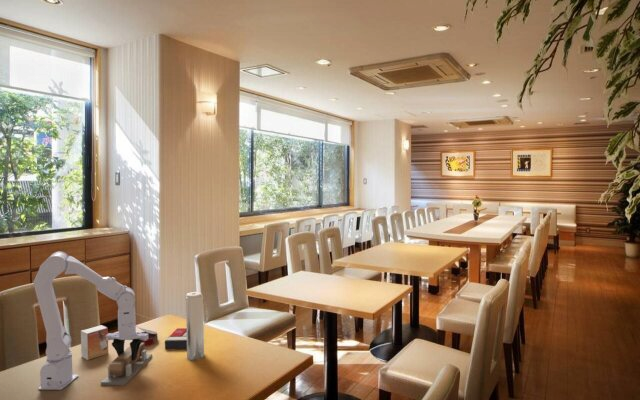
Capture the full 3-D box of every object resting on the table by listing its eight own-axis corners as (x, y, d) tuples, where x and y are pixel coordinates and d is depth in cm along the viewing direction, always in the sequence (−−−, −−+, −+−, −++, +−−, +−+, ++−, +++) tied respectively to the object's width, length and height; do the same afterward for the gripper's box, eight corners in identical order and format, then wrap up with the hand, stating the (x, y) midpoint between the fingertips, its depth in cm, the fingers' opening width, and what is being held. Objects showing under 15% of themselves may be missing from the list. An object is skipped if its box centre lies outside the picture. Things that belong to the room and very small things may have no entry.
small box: (87, 360, 157) (86, 333, 156) (81, 356, 160) (80, 330, 159) (108, 353, 163) (108, 327, 162) (102, 349, 166) (101, 324, 166)
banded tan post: (121, 375, 140) (121, 364, 140) (109, 375, 140) (109, 364, 140) (144, 352, 158) (144, 342, 158) (134, 352, 158) (133, 342, 158)
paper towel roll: (199, 361, 156) (197, 296, 155) (183, 359, 157) (182, 295, 156) (207, 354, 162) (206, 291, 161) (192, 352, 164) (190, 290, 162)
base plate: (124, 385, 138) (123, 372, 138) (100, 385, 138) (100, 372, 138) (152, 356, 160) (151, 345, 160) (131, 356, 160) (131, 345, 160)
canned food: (136, 350, 177) (137, 326, 181) (160, 347, 178) (161, 323, 182) (126, 348, 166) (127, 323, 170) (152, 344, 167) (152, 319, 171)
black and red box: (201, 327, 182) (192, 338, 167) (201, 336, 182) (192, 349, 167) (176, 327, 182) (164, 339, 167) (176, 337, 182) (164, 349, 167)
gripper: (151, 318, 152) (152, 354, 153) (112, 318, 152) (113, 354, 153) (143, 325, 145) (144, 363, 146) (102, 325, 145) (103, 362, 146)
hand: (128, 359), depth 149 cm, fingers closed on banded tan post, 4 cm apart
